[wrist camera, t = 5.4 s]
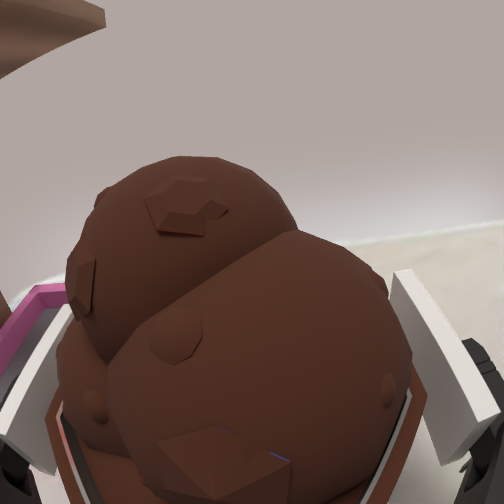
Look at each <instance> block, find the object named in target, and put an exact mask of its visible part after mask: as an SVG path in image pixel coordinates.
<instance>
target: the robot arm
mask: <svg viewBox="0 0 504 504" xmlns="http://www.w3.org/2000/svg"><path fill="white" fill-rule="evenodd" d="M390 303H391V305H392V307H393V309H394V311H395V313H396V315H397V317H398V319H399V321H400V324H401V326H402V328H403V331H404V333H405V335H406V338H407V340H408V343H409V345H410V348H411V350H412V352H413V358H412V363H413V365H414V367H415V369H416V371H417V373H418V375H419V377H420V380H421V382H422V384H423V386H424V388H425V390H426V392H427V394H428V397H427V401H426V404H425V407H424V411H423V414H422V415H423V417H424V420H425V423H426V425H427V428H428V431H429V433H430V436H431V439H432V442H433V445H434V447H435V450H436V453H437V456H438V459H439V462H440V465H441V466H444V465H446V464H449V463H451V462H454V461H456V460H459V459H461V458H462V457H463V456H464V455H465V454H466V453H467V452H468V451H470V454H471V456H472V457H471V458H470V459H469V460H468V461H467V462H466V463H465V464H464V465H463V466H462V468H461V470H460V471H459V472H460V473H462V472H463V471H464V470H465V469H466V472H465V475H464V478H463V481H462V484H461V486H460V489H459V492H458V494H457V497H456V499H455V502H454V504H504V380H503V379H502V377H501V375H500V373H499V372H498V370H496V367H495V365H494V364H493V362H492V361H490V357H489V356H488V354H487V352H486V351H485V349H484V348H483V347H482V346H481V345H480V344H479V343H477V342H476V341H475V340H474V339H472V338H469V339H466V340H463V341H461V340H460V339H459V337H458V336H457V334H456V333H455V331H454V329H453V328H452V326H451V325H450V323H449V322H448V320H447V319H446V317H445V316H444V314H443V313H442V311H441V310H440V308H439V307H438V305H437V304H436V302H435V301H434V299H433V298H432V297H431V295H430V294H429V292H428V291H427V290H426V288H425V287H424V285H423V284H422V283H421V281H420V280H419V278H418V277H417V276H416V274H415V273H414V272H413V270H412V269H407V270H401V271H394V273H393V280H392V287H391V294H390ZM73 318H74V315H73V312H72V310H71V308H70V305H69V304H64V305H63V306H62V308H61V309H60V311H59V312H58V314H57V315H56V317H55V318H54V320H53V321H52V323H51V324H50V326H49V327H48V329H47V331H46V332H45V334H44V335H43V337H42V338H41V340H40V342H39V343H38V345H37V347H36V348H35V350H34V352H33V353H32V355H31V357H30V358H29V360H28V362H27V363H26V365H25V367H24V369H23V370H22V372H20V373H19V374H18V375H17V376H16V378H15V379H14V380H13V381H12V382H11V384H10V386H9V388H8V390H7V393H5V395H4V397H3V401H1V403H0V504H42V502H41V499H40V496H39V493H38V490H37V486H36V483H35V479H34V476H33V473H32V471H31V470H30V469H29V465H30V464H31V465H32V466H34V467H35V468H36V469H37V470H39V471H41V472H44V473H47V474H49V475H52V476H54V475H55V472H56V469H57V463H56V460H55V457H54V453H53V450H52V446H51V443H50V439H49V435H48V431H47V427H46V423H45V416H46V414H47V411H48V409H49V407H50V404H51V402H52V399H53V397H54V395H55V392H56V390H57V388H58V386H59V382H58V377H57V360H56V356H55V355H56V348H57V346H58V344H59V342H60V341H62V338H63V336H64V334H65V332H66V329H67V328H68V326H69V324H70V323H71V321H72V320H73Z"/></svg>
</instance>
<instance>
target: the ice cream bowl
mask: <svg viewBox="0 0 504 504" xmlns="http://www.w3.org/2000/svg"><path fill="white" fill-rule="evenodd" d="M65 289H66V294H67V299H68V303H69V305H70V308H71V310H72V312H73V315H74V318H73V320H72V321H71V323H70V324H69V326H68V328H67V329H66V332H65V334H64V336H63V338H62V341H60V342H59V344H58V346H57V348H56V355H55V356H56V360H57V377H58V382H59V386H58V388H57V390H56V392H55V395H54V397H53V399H52V402H51V404H50V407H49V409H48V411H47V414H46V416H45V423H46V427H47V431H48V435H49V439H50V443H51V446H52V450H53V453H54V457H55V460H56V463H57V467H58V470H59V473H60V476H61V479H62V482H63V485H64V487H65V490H66V493H67V495H68V498H69V501H70V503H71V504H387V502H388V500H389V498H390V496H391V494H392V492H393V489H394V487H395V485H396V483H397V481H398V478H399V476H400V474H401V471H402V469H403V466H404V464H405V462H406V459H407V456H408V454H409V451H410V449H411V446H412V443H413V441H414V438H415V435H416V432H417V429H418V426H419V423H420V420H421V417H422V414H423V411H424V407H425V404H426V401H427V397H428V394H427V392H426V390H425V388H424V386H423V384H422V382H421V380H420V377H419V375H418V373H417V371H416V369H415V367H414V365H413V363H412V358H413V352H412V350H411V348H410V345H409V343H408V340H407V338H406V335H405V333H404V331H403V328H402V326H401V324H400V321H399V319H398V317H397V315H396V313H395V311H394V309H393V307H392V305H391V303H390V301H389V300H388V294H389V292H388V289H387V286H386V284H385V281H384V279H383V278H382V277H381V276H379V275H378V274H377V273H375V272H374V271H373V270H372V268H371V267H370V266H369V265H368V264H366V263H365V262H364V261H362V260H361V259H359V258H358V257H357V256H355V255H354V254H352V253H351V252H350V251H348V250H347V249H345V248H344V247H342V246H339V245H337V244H334V243H332V242H329V241H327V240H324V239H321V238H319V237H316V236H314V235H311V234H308V233H306V232H303V231H300V230H298V227H297V225H296V222H295V220H294V218H293V216H292V215H291V213H290V211H289V210H288V208H287V206H286V205H285V203H284V202H283V200H282V198H281V196H280V195H279V193H278V192H277V191H276V190H275V189H274V188H272V187H271V186H270V185H269V184H268V183H266V182H265V181H264V180H263V179H262V178H260V177H259V176H258V175H257V174H256V173H254V172H253V171H252V170H250V169H247V168H244V167H242V166H239V165H236V164H234V163H231V162H228V161H226V160H223V159H221V158H218V157H191V156H177V157H171V158H168V159H165V160H162V161H159V162H156V163H153V164H150V165H148V166H145V167H142V168H140V169H138V170H137V171H135V172H133V173H132V174H130V175H129V176H127V177H126V178H124V179H122V180H121V181H119V182H118V183H116V184H115V185H113V186H111V187H108V188H106V189H104V190H103V191H102V192H101V193H99V194H98V195H97V199H96V201H95V204H94V210H93V211H92V212H91V214H90V215H89V216H88V218H87V219H86V222H85V225H84V228H83V231H82V234H81V237H80V240H79V241H78V243H77V244H76V246H75V248H74V249H73V251H72V252H71V254H70V256H69V257H68V259H67V266H66V276H65Z"/></svg>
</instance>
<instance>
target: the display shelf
mask: <svg viewBox="0 0 504 504" xmlns="http://www.w3.org/2000/svg"><path fill="white" fill-rule="evenodd" d="M105 27H106V22H105V12H104V9H102V8H100V7H98V6H95V5H93V4H91V3H88V2H86V1H84V0H0V79H1V78H3V77H5V76H6V75H8V74H10V73H11V72H13V71H15V70H16V69H18V68H20V67H21V66H23V65H25V64H27V63H29V62H30V61H32V60H34V59H36V58H38V57H40V56H42V55H44V54H46V53H48V52H50V51H52V50H54V49H56V48H58V47H60V46H62V45H64V44H67V43H69V42H71V41H73V40H76V39H77V38H80V37H83V36H85V35H87V34H90V33H92V32H95V31H97V30H100V29H103V28H105ZM11 314H12V312H11V310H10V308H9V306H8V304H7V303H6V301H5V299H4V297H3V295H2V293H1V291H0V329H1V328H2V326H3V325H4V324H5V322H6V321H7V320H8V318H9V317H10V316H11Z"/></svg>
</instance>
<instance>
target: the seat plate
mask: <svg viewBox="0 0 504 504" xmlns="http://www.w3.org/2000/svg"><path fill="white" fill-rule="evenodd" d="M64 304H69V303H68V299H67V294H66V289H65V283H55V284H44V285H35V286H34V287H33V288H32V289H31V291H30V292H29V293H28V294H27V295H26V297H25V298H24V299H23V300H22V302H21V303H20V304H19V305H18V307H17V308H16V309H15V311H14V312H13V313H12V314H11V316H10V317H9V318H8V320H7V321H6V322H5V324H4V325H3V326H2V328H1V329H0V403H1V401H3V397H4V395H5V393H7V390H8V388H9V386H10V384H11V382H12V381H13V380H14V379H15V378H16V376H17V375H18V374H19V373H20V372H22V370H23V369H24V367H25V365H26V363H27V362H28V360H29V358H30V357H31V355H32V353H33V352H34V350H35V348H36V347H37V345H38V343H39V342H40V340H41V338H42V337H43V335H44V334H45V332H46V331H47V329H48V327H49V326H50V324H51V323H52V321H53V320H54V318H55V317H56V315H57V314H58V312H59V311H60V309H61V308H62V306H63V305H64Z"/></svg>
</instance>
